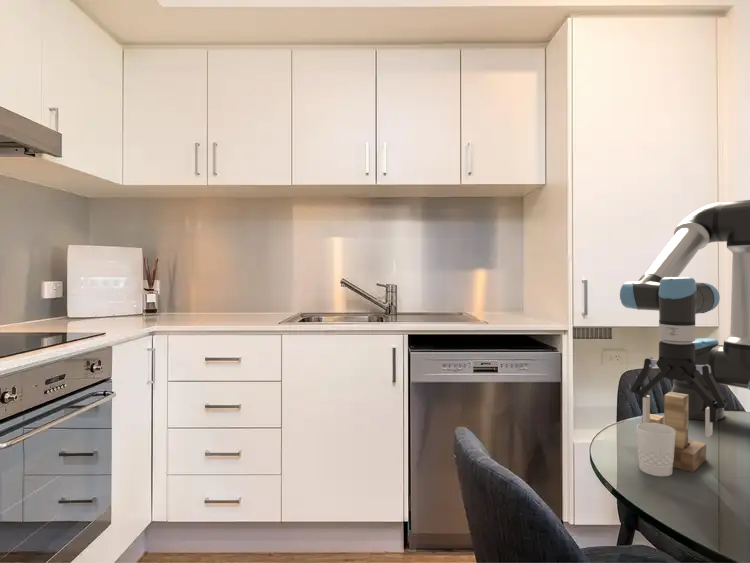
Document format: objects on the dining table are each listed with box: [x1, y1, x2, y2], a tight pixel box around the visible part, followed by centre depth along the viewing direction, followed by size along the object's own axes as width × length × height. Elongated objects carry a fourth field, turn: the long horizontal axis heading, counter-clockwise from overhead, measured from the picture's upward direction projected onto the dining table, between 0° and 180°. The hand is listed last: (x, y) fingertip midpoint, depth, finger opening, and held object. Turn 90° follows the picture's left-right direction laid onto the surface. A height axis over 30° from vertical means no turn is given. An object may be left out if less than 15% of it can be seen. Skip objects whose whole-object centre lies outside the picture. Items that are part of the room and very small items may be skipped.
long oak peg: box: [663, 391, 689, 449], centre depth 122 cm, size 4×4×16 cm
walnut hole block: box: [673, 438, 707, 473], centre depth 122 cm, size 10×10×4 cm
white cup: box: [636, 422, 676, 477], centre depth 117 cm, size 8×8×10 cm
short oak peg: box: [641, 413, 664, 425], centre depth 134 cm, size 4×4×7 cm
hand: (676, 428), depth 122 cm, fingers open, 13 cm apart
